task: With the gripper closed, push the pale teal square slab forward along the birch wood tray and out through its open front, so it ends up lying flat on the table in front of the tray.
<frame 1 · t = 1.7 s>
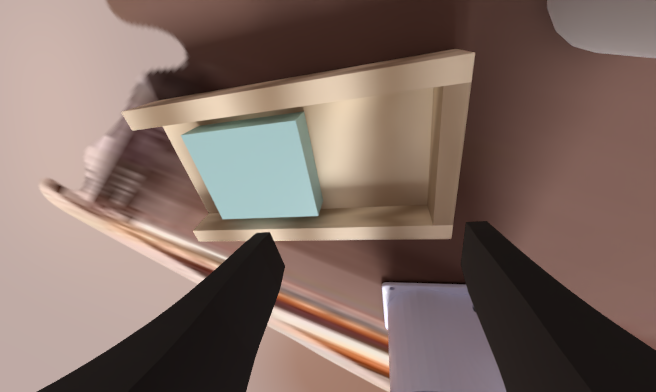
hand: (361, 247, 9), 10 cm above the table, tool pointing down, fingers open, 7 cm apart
tray: (304, 157, 19), on the table
pale teal square slab: (264, 165, 19), point 1 cm above the table, touching tray
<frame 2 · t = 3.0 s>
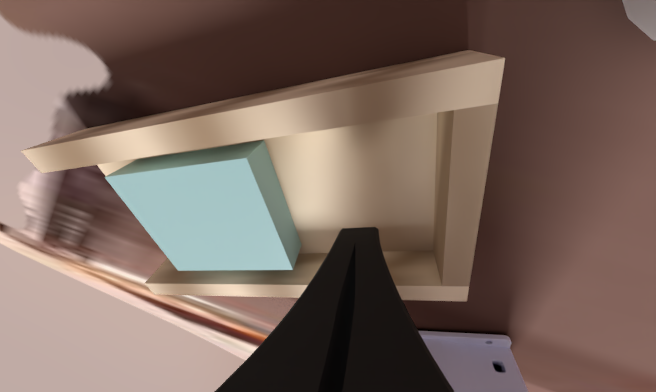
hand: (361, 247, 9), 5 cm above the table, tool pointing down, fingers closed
tray: (274, 193, 15), on the table
pale teal square slab: (223, 204, 15), point 1 cm above the table, touching tray
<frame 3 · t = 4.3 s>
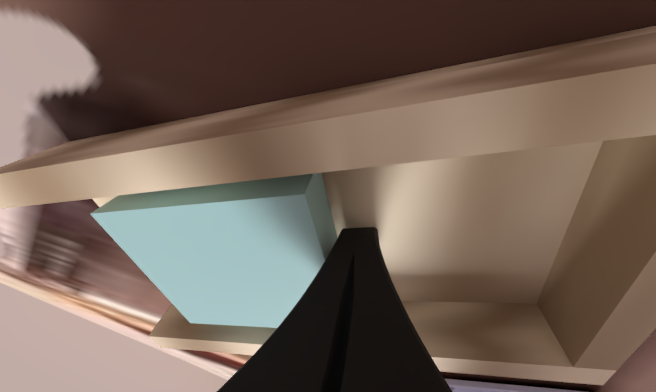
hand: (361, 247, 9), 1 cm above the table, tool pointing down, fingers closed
tray: (319, 225, 11), on the table
pale teal square slab: (251, 241, 11), point 1 cm above the table, touching gripper, tray
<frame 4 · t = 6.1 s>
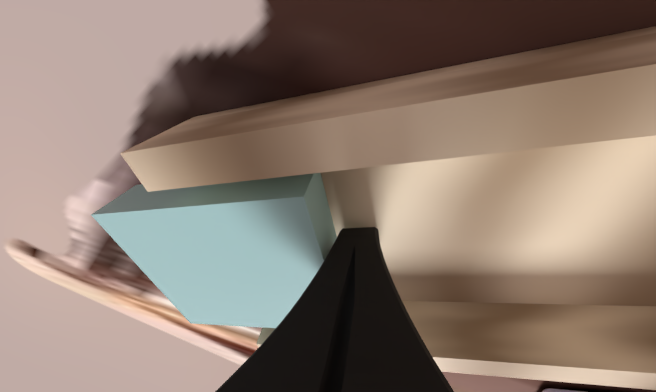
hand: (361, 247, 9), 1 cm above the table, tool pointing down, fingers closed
tray: (482, 216, 9), on the table
pale teal square slab: (251, 242, 11), point 1 cm above the table, touching gripper, tray
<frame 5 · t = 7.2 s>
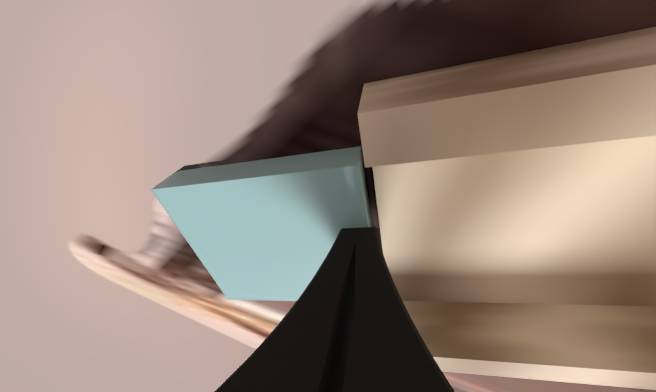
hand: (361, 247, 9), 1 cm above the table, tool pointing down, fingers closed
pale teal square slab: (289, 220, 12), on the table
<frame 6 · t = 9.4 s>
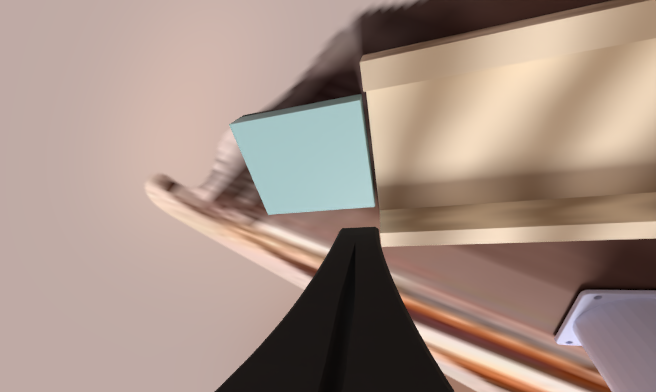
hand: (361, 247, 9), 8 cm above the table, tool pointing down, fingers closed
tray: (556, 127, 13), on the table
pale teal square slab: (312, 154, 17), on the table
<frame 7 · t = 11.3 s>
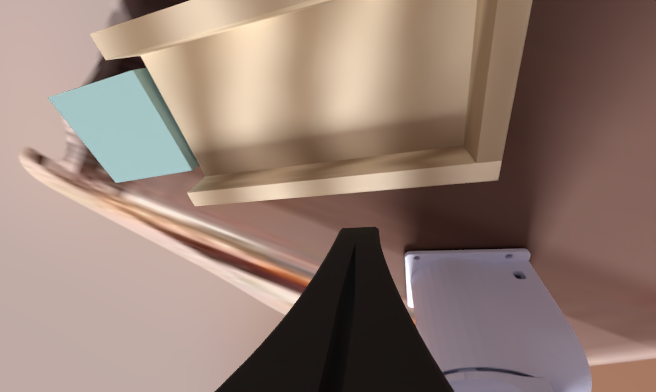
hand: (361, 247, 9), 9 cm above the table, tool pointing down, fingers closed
tray: (313, 95, 16), on the table
pale teal square slab: (144, 126, 19), on the table
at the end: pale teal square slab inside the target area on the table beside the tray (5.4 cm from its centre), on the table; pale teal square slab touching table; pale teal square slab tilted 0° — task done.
